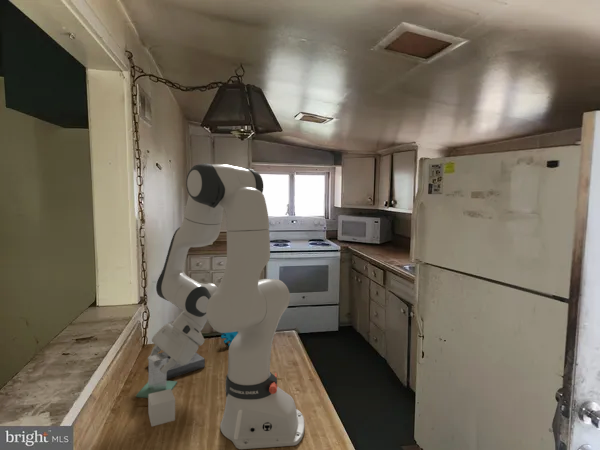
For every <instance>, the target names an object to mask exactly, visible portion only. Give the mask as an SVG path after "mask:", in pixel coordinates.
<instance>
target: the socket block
mask: <svg viewBox="0 0 600 450" xmlns="http://www.w3.org/2000/svg"><path fill="white" fill-rule="evenodd" d="M161 353H162V354H163V355H164V356H165V357H166V358H167V363H168V362H169V361H168V360H169V359H170V358H171V357H170V356H169V355H167V354H166V353H165V352H164V351H162V352H160V353H159V352H158V354H161ZM205 360H206V359H205V358H204V357H203V356H201V354H199V353H197V352H196V353H195V354H194V356H193V357H192V358H191V360H190V361H189V362H188V363H187V364H186V365H184V366H182V365H180V364H179V363H176V365H175V366H173V367H172V368H170V369H169V370H168V371H167V380H169V379H173V378H176V377H178V376H179V377H180V376H181V375H185V374H187V373H191V372H193V371H196V370H200V369H203V368H205V365H206V363H205V362H206V361H205Z"/></svg>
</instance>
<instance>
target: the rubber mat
mask: <svg viewBox="0 0 600 450" xmlns="http://www.w3.org/2000/svg"><path fill="white" fill-rule="evenodd" d="M148 382H149V380H148V381H147V383H146V384H144V386H143V387H142V388H141V389H140V390H139V391H138V393H136V394H135V396H136V398H145V399H148V394H151V393H153V392H152V391H151V390H150V389H149V388H148ZM177 384H178V381H177V380H167V382H166V389H164V390H168V389H171V390H172V391H173V390H174V388H175V387H176V386H177ZM164 390H161V391H164ZM158 392H159V391H158Z"/></svg>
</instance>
